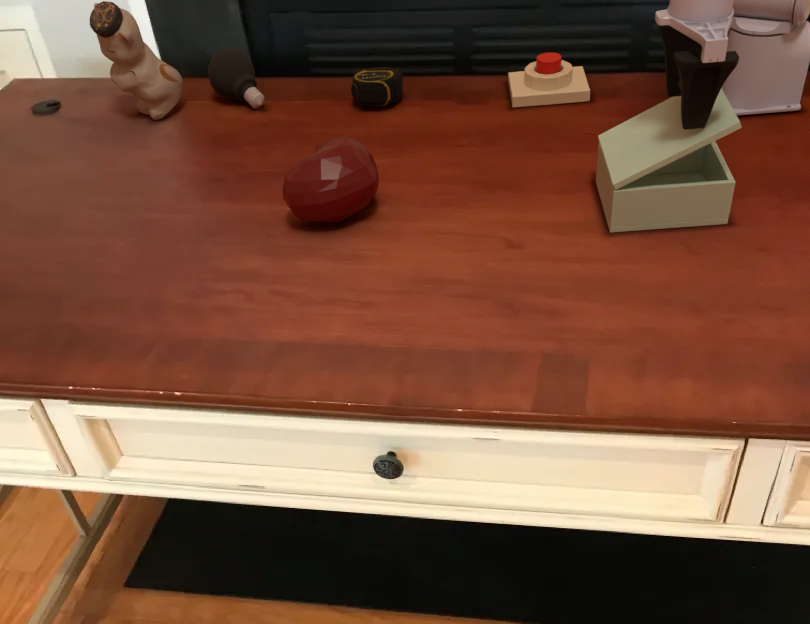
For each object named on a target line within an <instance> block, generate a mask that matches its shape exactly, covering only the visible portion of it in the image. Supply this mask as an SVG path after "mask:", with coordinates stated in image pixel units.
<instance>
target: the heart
mask: <svg viewBox="0 0 810 624" xmlns="http://www.w3.org/2000/svg"><path fill="white" fill-rule="evenodd" d="M379 182H380V177H379V171H378V166H377V163H376V160H375V157H374V155H373V154H372V153H371V152H370V151H369V150H368V149H367V148H366V146H365V145H364V144H363V143H362V142H361V141H358V140H356V139H353V138H350V137H349V136H342V137H334V138H330V139H327V140H325V141H323V142H321V143H320V144H319V145H317V146H316V147H315V149H314V151H313V153H312V154H310V155H308V156H306V157H304V158H303V159H301V160H300V161H298V162H297V163H296V164H295V165H294V166H292V168H291V169H290V170H289V171H288V173H287V174H286V175H285V177H284V180H283V185H282V199H283V200H284V202H285V204H286V205H287V207H288V208H289V210H290V211H291V212H290V213H292V215H293V217H295V218H296V219H298V220H300V221H305V222H317V223H318V222H319V223H333V224H334V223H335V224H336V223H337V224H339V223H340V222H342V221H344V220H346V219H348V218H350V217H352V216H354V215H355V214H357V213H359V212H360V211H362V210H364V208H366V207H368V206H369V204H370V202H371V201H372V199H373V197H374V196H375V195H376V193H377V192H378V188H379Z"/></svg>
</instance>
